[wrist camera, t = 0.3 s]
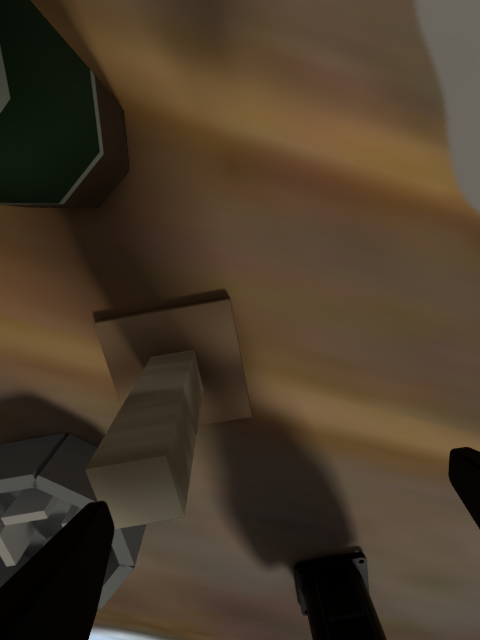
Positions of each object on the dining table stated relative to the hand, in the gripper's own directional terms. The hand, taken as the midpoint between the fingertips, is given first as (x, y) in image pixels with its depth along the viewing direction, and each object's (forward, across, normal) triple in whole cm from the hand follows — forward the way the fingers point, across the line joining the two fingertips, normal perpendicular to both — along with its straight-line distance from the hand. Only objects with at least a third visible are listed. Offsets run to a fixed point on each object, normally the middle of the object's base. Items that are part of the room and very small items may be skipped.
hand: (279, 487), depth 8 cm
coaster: (+14, +5, +2) cm, 15 cm away
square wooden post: (+13, +5, +2) cm, 14 cm away
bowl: (+14, +17, +13) cm, 25 cm away
